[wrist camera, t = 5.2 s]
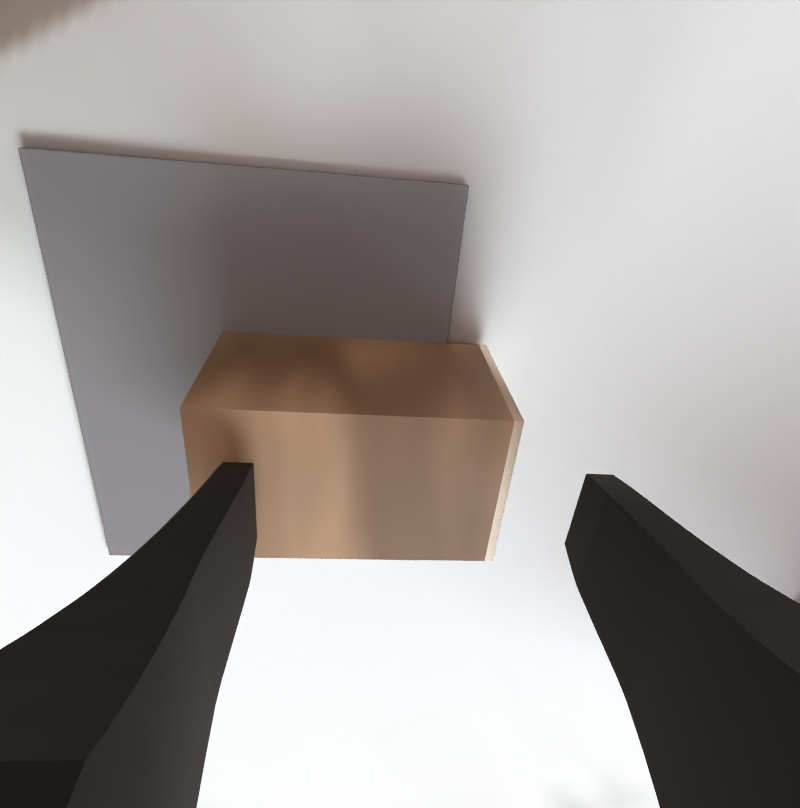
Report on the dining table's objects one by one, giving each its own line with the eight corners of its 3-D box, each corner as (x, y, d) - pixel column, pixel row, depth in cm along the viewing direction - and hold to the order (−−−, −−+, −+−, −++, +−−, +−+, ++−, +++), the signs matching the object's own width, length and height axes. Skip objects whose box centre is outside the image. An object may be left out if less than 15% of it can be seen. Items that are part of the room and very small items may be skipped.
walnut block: (524, 421, 12) (180, 407, 11) (492, 561, 14) (198, 557, 13) (486, 345, 15) (222, 331, 14) (465, 465, 17) (232, 457, 16)
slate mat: (467, 184, 13) (468, 186, 13) (416, 555, 19) (417, 560, 19) (23, 147, 12) (18, 148, 12) (112, 550, 18) (109, 555, 18)
